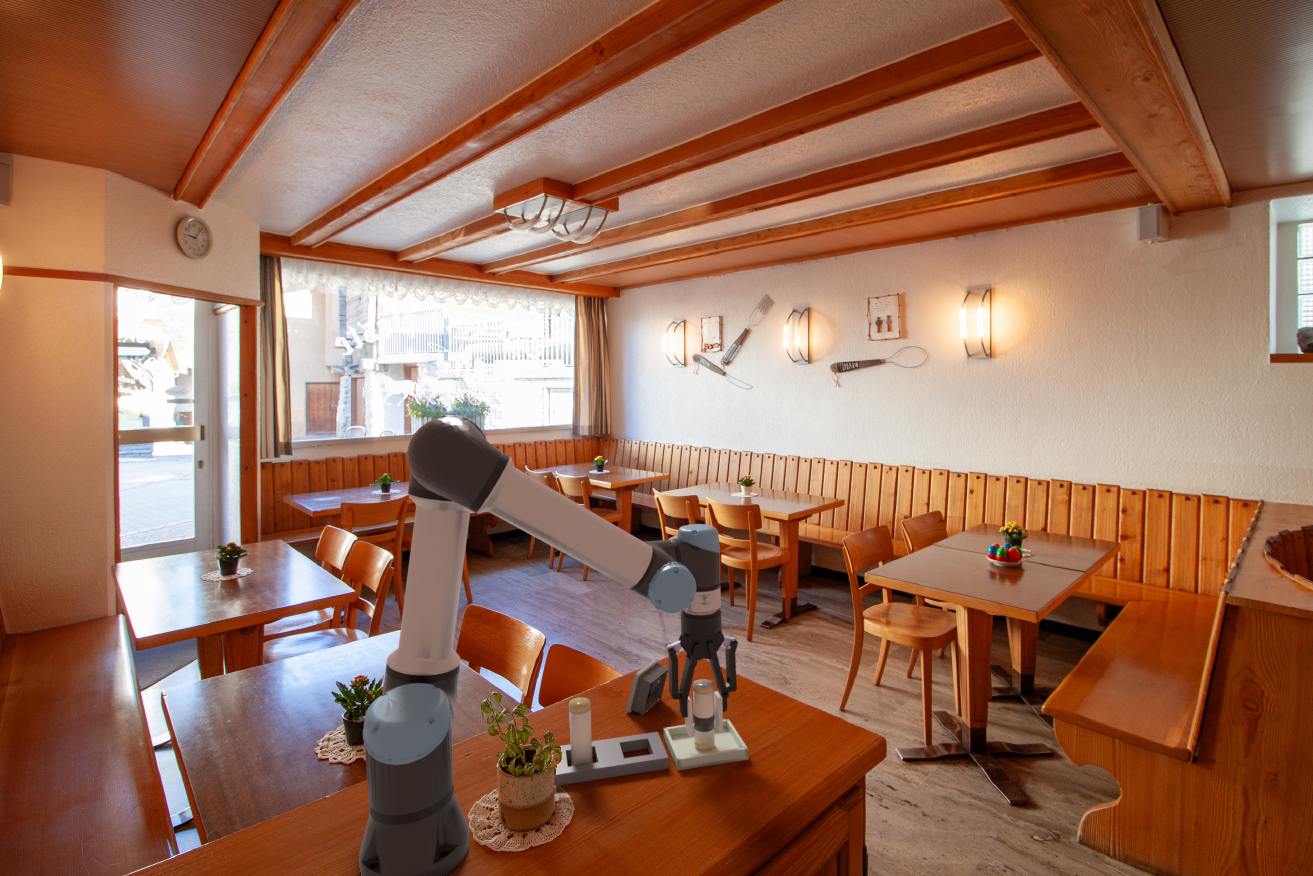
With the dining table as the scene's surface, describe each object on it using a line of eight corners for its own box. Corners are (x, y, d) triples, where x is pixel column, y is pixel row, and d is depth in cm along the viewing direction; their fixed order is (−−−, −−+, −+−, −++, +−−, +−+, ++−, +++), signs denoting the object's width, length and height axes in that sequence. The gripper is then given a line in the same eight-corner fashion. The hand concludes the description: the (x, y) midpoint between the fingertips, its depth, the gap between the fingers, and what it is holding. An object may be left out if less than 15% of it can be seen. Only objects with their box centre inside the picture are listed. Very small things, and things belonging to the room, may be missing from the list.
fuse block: (555, 786, 110) (555, 775, 109) (552, 757, 118) (552, 747, 118) (668, 768, 114) (668, 757, 114) (658, 741, 123) (657, 731, 122)
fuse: (572, 774, 113) (569, 709, 112) (570, 762, 116) (568, 699, 116) (593, 771, 114) (591, 706, 113) (591, 759, 117) (589, 696, 116)
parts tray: (677, 770, 113) (677, 759, 113) (663, 737, 124) (663, 728, 124) (748, 759, 116) (748, 749, 116) (728, 728, 127) (728, 718, 126)
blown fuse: (691, 741, 121) (690, 680, 120) (711, 739, 122) (710, 678, 121) (697, 752, 117) (696, 689, 117) (717, 749, 118) (716, 687, 117)
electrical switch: (647, 694, 142) (649, 655, 141) (668, 701, 140) (670, 661, 138) (625, 713, 134) (627, 671, 133) (646, 721, 131) (648, 679, 130)
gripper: (657, 620, 112) (661, 748, 114) (754, 610, 116) (757, 733, 118) (648, 607, 120) (652, 727, 121) (740, 597, 123) (743, 714, 125)
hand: (704, 730), depth 120 cm, fingers open, 5 cm apart
